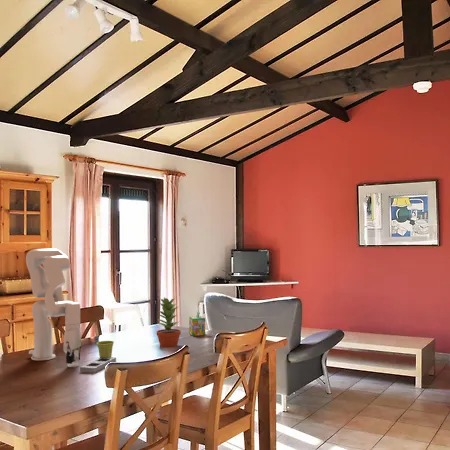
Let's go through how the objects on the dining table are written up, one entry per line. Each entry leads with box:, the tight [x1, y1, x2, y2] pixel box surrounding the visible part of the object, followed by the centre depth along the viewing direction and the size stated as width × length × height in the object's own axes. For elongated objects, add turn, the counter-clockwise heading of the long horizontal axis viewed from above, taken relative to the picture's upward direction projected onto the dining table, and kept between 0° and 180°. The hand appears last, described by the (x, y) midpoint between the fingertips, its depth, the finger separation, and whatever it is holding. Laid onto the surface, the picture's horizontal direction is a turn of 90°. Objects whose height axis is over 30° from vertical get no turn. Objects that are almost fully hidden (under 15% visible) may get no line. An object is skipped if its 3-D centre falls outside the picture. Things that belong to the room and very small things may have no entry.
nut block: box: [67, 348, 80, 368], centre depth 267 cm, size 4×4×8 cm
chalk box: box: [188, 311, 206, 337], centre depth 346 cm, size 9×9×15 cm
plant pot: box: [96, 340, 115, 358], centre depth 283 cm, size 9×9×9 cm
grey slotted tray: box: [79, 356, 117, 374], centre depth 264 cm, size 8×22×2 cm, turn 164°
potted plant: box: [156, 297, 181, 349], centre depth 313 cm, size 15×15×30 cm
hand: (73, 361), depth 267 cm, fingers open, 6 cm apart
